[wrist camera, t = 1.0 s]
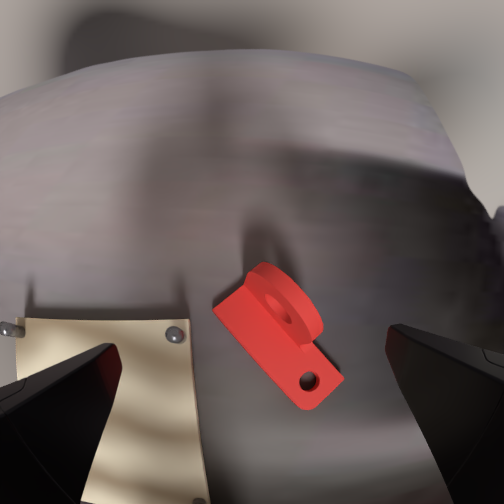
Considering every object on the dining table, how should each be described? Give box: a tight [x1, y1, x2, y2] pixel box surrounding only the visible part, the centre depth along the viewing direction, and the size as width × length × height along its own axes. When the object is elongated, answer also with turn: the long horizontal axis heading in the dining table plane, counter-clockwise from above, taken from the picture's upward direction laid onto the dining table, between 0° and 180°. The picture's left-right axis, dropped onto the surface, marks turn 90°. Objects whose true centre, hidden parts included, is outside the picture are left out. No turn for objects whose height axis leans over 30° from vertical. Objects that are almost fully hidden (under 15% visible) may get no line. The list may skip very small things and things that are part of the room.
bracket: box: [212, 262, 344, 410], centre depth 21 cm, size 12×4×8 cm, turn 41°
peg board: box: [0, 317, 211, 504], centre depth 18 cm, size 18×18×4 cm
